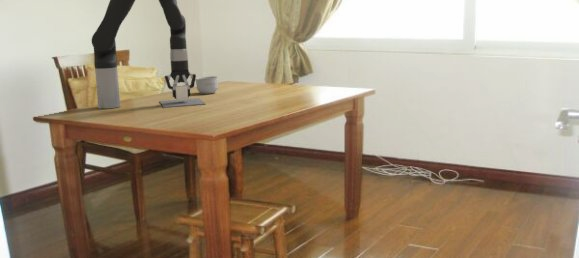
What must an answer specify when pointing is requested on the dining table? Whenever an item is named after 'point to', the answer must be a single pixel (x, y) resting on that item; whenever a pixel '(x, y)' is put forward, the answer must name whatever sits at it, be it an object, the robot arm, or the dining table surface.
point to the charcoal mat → (182, 102)
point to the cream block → (181, 92)
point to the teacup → (207, 84)
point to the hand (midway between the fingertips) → (181, 97)
